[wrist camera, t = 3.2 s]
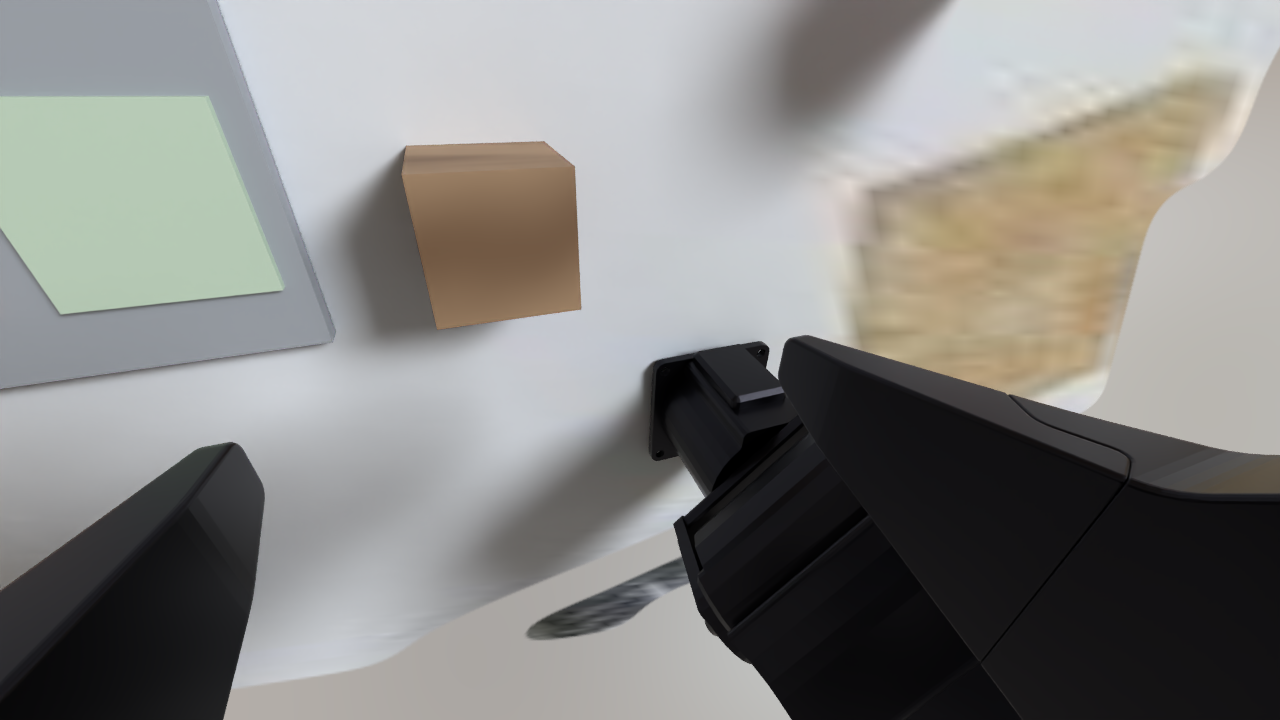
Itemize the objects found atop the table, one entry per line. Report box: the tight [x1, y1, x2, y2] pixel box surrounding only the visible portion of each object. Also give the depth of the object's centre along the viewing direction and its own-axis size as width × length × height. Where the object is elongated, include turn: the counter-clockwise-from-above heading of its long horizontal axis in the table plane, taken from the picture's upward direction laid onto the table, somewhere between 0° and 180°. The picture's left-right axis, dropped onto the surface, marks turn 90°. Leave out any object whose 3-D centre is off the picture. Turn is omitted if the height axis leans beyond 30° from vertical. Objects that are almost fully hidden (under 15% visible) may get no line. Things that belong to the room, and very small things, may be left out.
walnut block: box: [402, 141, 581, 330], centre depth 16 cm, size 4×4×4 cm
